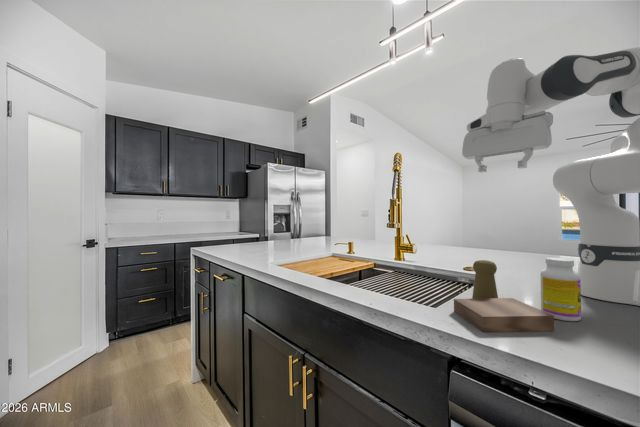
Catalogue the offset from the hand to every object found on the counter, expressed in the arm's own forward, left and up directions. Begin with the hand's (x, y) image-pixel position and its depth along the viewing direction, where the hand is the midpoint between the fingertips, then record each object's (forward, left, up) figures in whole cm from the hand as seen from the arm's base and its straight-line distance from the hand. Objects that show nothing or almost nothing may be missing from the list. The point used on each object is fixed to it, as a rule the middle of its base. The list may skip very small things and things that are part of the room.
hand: (501, 170), depth 71 cm
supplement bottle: (-4, +13, -35) cm, 38 cm away
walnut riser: (+11, +14, -35) cm, 39 cm away
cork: (+7, +3, -35) cm, 36 cm away
